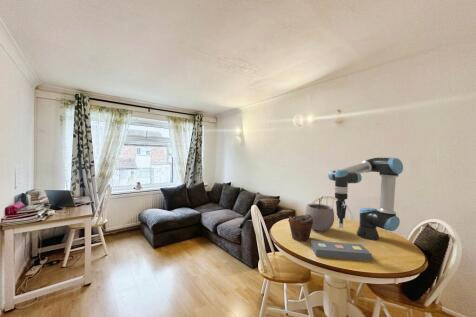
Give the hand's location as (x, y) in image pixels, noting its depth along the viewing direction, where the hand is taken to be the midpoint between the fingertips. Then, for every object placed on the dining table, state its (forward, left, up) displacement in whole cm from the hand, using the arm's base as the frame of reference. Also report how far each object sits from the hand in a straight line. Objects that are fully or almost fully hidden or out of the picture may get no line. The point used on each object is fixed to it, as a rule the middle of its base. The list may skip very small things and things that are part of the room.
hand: (340, 227), depth 136 cm
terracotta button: (+1, +2, -16) cm, 16 cm away
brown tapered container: (+23, -19, -17) cm, 34 cm away
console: (+1, +2, -17) cm, 17 cm away
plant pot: (+3, -42, -17) cm, 46 cm away
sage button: (+12, +2, -16) cm, 20 cm away
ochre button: (-10, +2, -16) cm, 19 cm away
